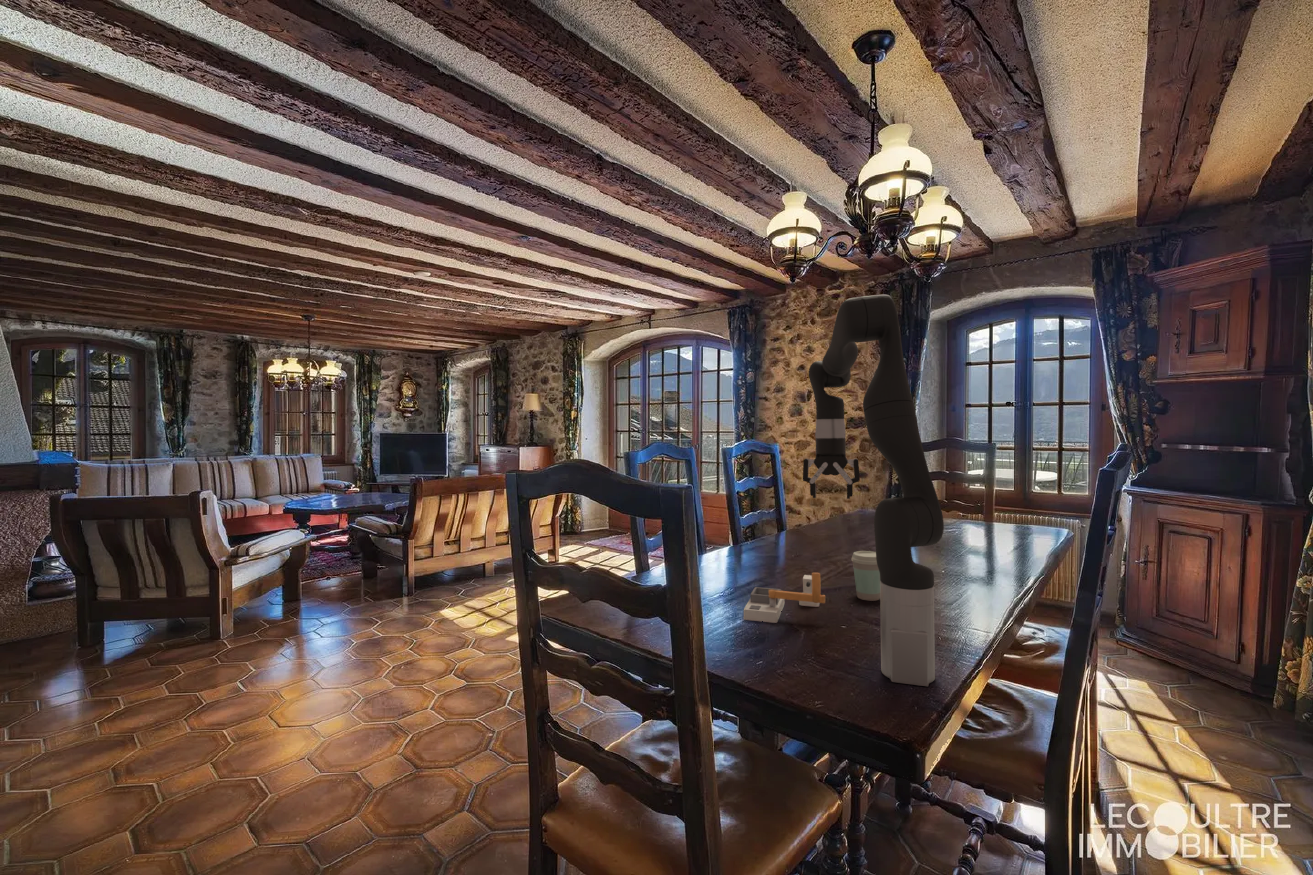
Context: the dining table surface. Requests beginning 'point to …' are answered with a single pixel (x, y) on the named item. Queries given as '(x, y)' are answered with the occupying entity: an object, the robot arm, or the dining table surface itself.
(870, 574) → the coffee cup
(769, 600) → the white stepped base
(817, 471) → the robot arm
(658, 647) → the dining table surface
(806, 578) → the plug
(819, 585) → the crank handle
